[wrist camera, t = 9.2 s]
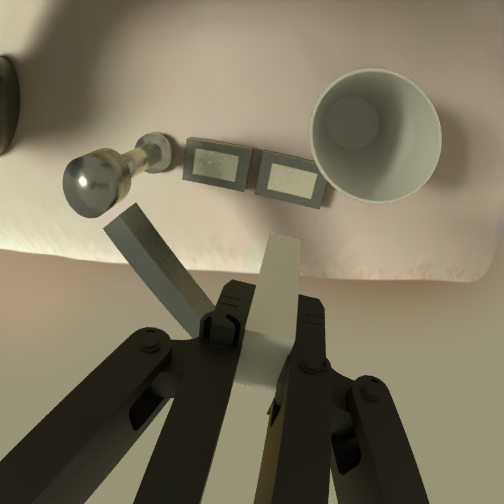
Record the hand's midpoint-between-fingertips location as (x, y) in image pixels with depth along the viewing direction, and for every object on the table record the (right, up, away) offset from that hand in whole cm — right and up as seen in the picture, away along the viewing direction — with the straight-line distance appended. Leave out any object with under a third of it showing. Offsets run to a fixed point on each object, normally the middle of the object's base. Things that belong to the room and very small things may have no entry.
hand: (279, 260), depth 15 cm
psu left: (-5, +9, +13) cm, 16 cm away
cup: (+7, +12, +9) cm, 17 cm away
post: (-11, +10, +13) cm, 20 cm away
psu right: (+2, +7, +12) cm, 15 cm away
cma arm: (-8, 0, +8) cm, 12 cm away
